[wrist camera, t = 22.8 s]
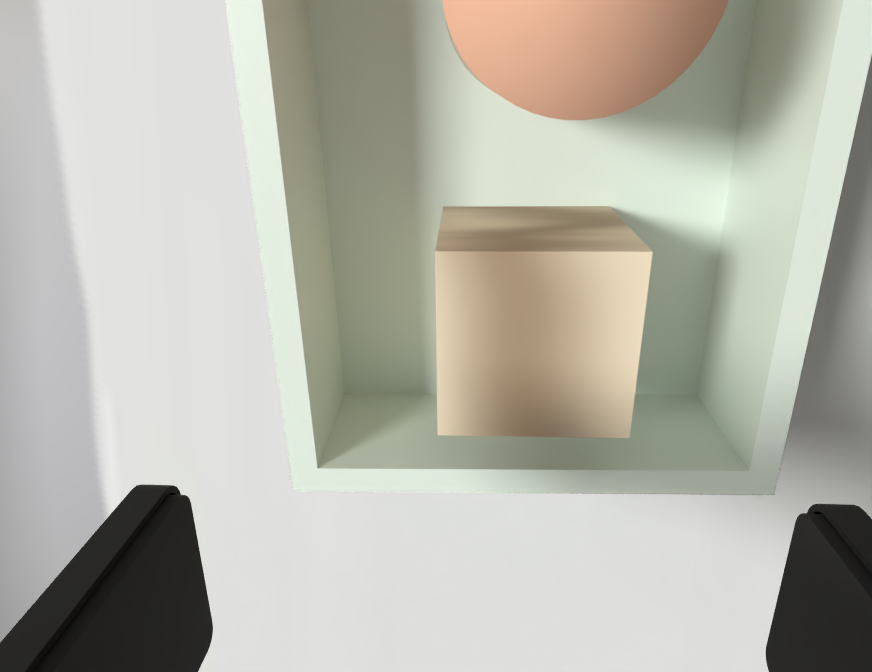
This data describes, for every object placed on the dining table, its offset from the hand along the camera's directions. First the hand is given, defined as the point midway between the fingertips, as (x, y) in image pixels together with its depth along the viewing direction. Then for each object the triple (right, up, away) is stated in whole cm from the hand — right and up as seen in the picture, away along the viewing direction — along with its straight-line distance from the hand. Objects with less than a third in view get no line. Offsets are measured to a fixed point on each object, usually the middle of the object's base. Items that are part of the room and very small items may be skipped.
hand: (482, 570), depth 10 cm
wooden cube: (+2, +5, +10) cm, 12 cm away
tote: (+2, +9, +9) cm, 13 cm away
